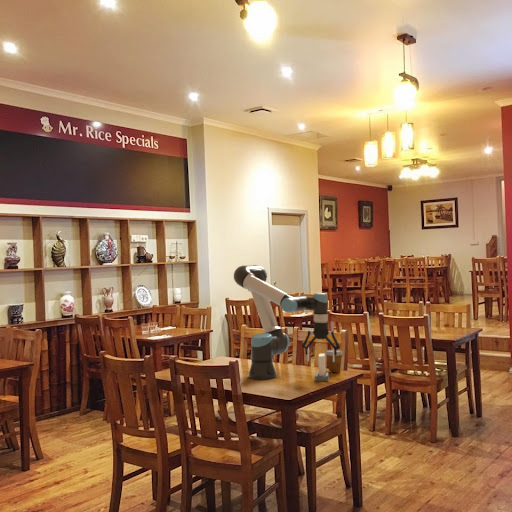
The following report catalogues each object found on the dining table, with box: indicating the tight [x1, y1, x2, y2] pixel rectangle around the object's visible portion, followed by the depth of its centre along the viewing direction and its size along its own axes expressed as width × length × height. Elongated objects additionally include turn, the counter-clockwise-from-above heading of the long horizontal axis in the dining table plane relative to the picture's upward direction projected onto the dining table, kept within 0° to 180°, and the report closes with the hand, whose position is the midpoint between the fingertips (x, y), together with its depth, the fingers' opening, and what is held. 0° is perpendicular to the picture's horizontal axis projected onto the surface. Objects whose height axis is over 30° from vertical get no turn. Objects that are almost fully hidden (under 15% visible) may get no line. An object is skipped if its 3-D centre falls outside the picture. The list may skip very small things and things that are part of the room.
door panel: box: [317, 353, 327, 376], centre depth 296 cm, size 9×3×12 cm, turn 170°
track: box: [314, 370, 330, 382], centre depth 296 cm, size 7×14×3 cm, turn 170°
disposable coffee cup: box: [325, 349, 343, 373], centre depth 313 cm, size 10×10×12 cm
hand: (321, 361), depth 296 cm, fingers open, 13 cm apart
